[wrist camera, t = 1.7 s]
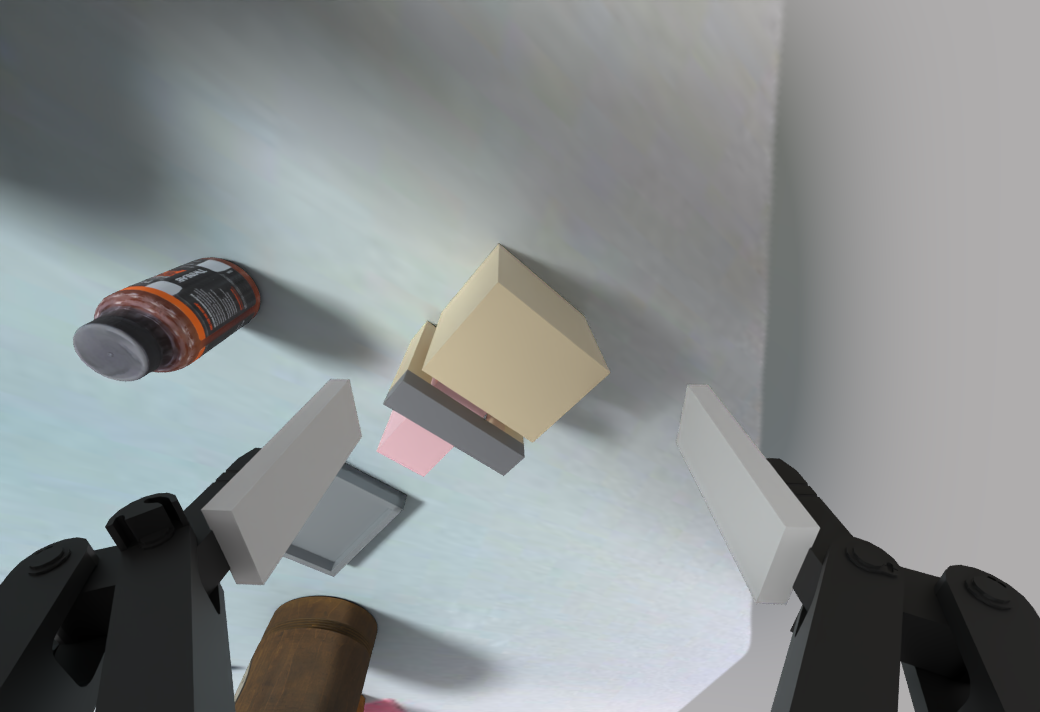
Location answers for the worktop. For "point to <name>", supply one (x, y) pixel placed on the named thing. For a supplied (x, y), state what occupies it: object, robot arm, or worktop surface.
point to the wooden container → (310, 658)
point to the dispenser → (498, 363)
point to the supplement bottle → (167, 319)
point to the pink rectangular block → (418, 438)
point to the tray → (345, 521)
